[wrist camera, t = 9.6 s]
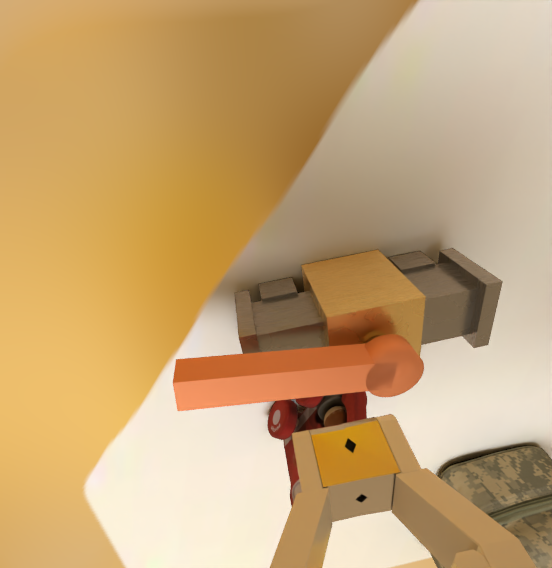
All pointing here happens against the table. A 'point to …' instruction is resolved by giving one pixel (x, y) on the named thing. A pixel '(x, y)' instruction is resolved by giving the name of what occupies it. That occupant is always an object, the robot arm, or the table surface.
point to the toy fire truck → (312, 422)
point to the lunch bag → (511, 495)
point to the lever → (297, 374)
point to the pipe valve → (372, 303)
